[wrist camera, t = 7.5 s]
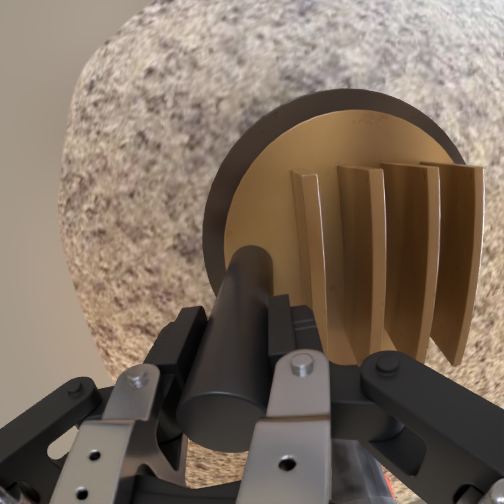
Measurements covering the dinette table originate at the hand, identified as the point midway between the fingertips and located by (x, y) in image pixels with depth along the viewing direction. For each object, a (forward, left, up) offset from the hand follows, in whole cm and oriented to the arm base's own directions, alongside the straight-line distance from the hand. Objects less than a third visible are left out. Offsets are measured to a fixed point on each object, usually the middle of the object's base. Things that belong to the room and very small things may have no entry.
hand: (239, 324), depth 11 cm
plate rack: (+5, +5, -8) cm, 10 cm away
